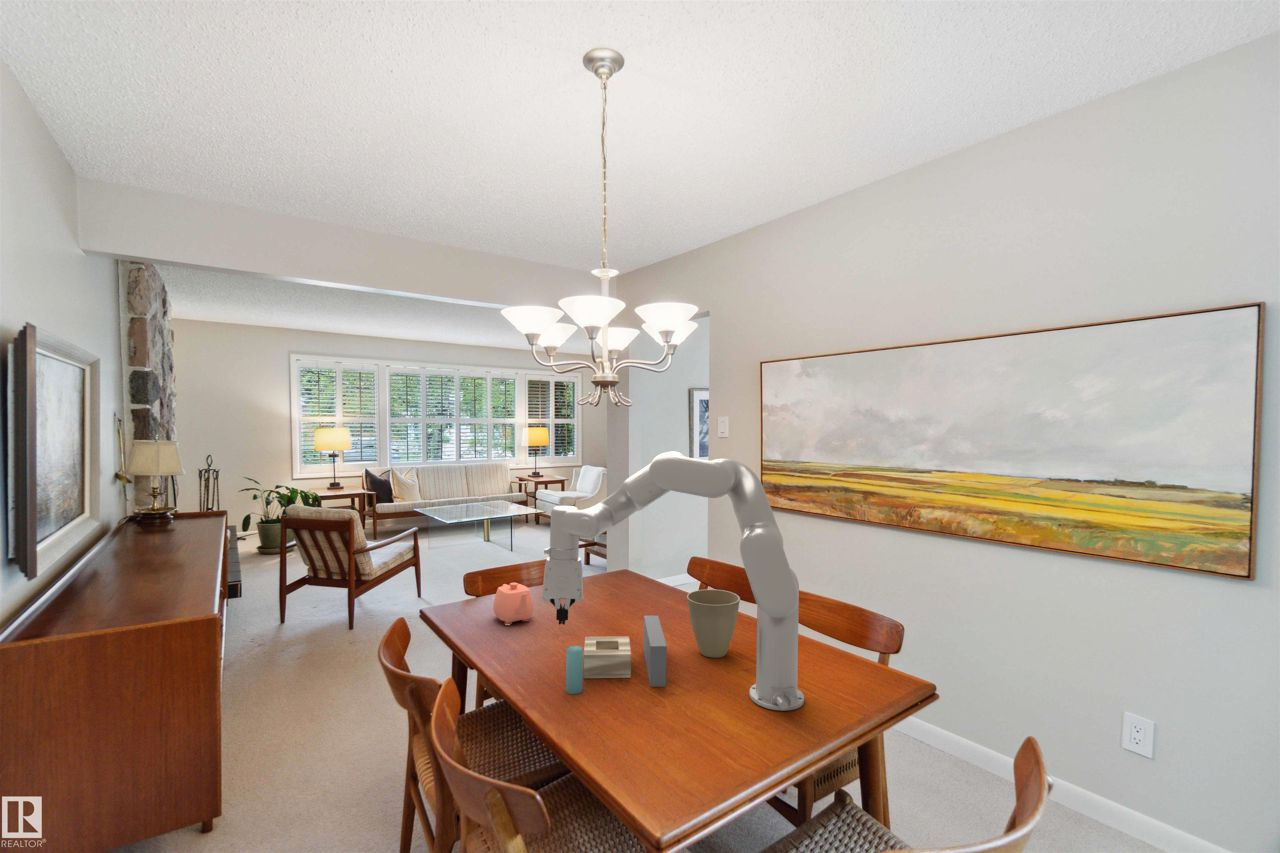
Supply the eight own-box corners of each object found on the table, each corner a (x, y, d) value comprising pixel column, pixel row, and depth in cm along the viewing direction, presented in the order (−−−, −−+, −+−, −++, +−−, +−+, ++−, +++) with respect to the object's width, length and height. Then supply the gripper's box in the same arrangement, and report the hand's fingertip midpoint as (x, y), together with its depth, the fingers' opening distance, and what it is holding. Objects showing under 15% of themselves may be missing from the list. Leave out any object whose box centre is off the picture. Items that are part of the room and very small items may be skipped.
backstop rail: (666, 686, 138) (666, 646, 138) (650, 686, 138) (650, 646, 138) (657, 650, 160) (657, 615, 160) (643, 650, 160) (643, 615, 160)
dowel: (582, 694, 134) (582, 652, 134) (565, 694, 134) (565, 652, 134) (582, 686, 138) (583, 645, 138) (566, 686, 138) (567, 645, 138)
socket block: (630, 677, 143) (631, 654, 143) (583, 678, 142) (583, 654, 142) (628, 657, 155) (628, 636, 155) (584, 658, 154) (585, 636, 154)
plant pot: (724, 639, 169) (724, 587, 169) (748, 659, 155) (749, 602, 155) (678, 645, 164) (678, 591, 164) (699, 666, 150) (700, 607, 150)
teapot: (485, 615, 188) (486, 579, 188) (519, 608, 195) (519, 574, 195) (508, 633, 172) (509, 594, 172) (544, 626, 178) (544, 588, 178)
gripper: (533, 556, 143) (531, 627, 143) (592, 557, 144) (590, 628, 144) (537, 549, 151) (535, 617, 151) (592, 550, 152) (590, 618, 152)
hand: (562, 622), depth 148 cm, fingers closed
